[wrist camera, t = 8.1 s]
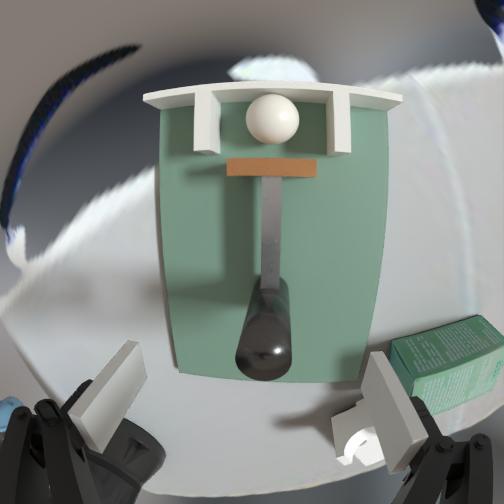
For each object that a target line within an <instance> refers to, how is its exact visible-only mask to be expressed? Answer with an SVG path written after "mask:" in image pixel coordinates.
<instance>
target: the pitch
mask: <svg viewBox="0 0 504 504" xmlns="http://www.w3.org/2000/svg"><path fill="white" fill-rule="evenodd" d="M267 94H277V95H281V96H283V97H285V98H287V99H289V100H290V101H291V102H292V103H293V104H294V106H295V107H296V109H297V111H298V114H299V125H298V128H297V131H296V132H295V134H294V135H293V136H292V137H291V138H290V139H289V140H287V141H286V142H283V143H280V144H266V143H263V142H260V141H259V140H257V139H256V138H254V137H253V136H252V134H251V133H250V132H249V130H248V128H247V125H246V113H247V110H248V108H249V106H250V105H251V103H252V102H253V101H254V100H256V99H257V98H259V97H261V96H263V95H267ZM143 101H144V102H146V103H149V104H150V105H152V106H154V107H156V108H158V109H160V110H161V112H160V143H159V144H160V145H159V148H160V149H159V182H160V213H161V232H162V246H163V259H164V270H165V280H166V289H167V298H168V306H169V313H170V320H171V327H172V334H173V340H174V347H175V353H176V358H177V364H178V369H179V373H185V374H192V375H199V376H207V377H215V378H225V379H235V380H247V381H258V380H254V379H251V378H249V377H247V376H245V375H244V374H243V373H242V372H241V371H240V370H239V369H238V367H237V365H236V362H235V354H236V350H237V347H238V343H239V339H240V336H241V332H242V328H243V324H244V321H245V317H246V313H247V309H248V305H249V302H250V298H251V294H252V290H253V286H254V284H255V282H256V281H257V280H258V279H259V278H261V215H262V176H227V158H294V159H317V173H316V177H313V178H304V177H282V207H281V249H280V277H281V278H282V279H284V280H285V282H286V283H287V285H288V288H289V300H290V320H291V343H292V365H291V367H290V369H289V371H288V372H287V373H286V374H285V375H283V376H282V377H280V378H278V379H275V380H272V381H263V382H290V383H322V382H349V381H357V378H358V375H359V371H360V368H361V364H362V360H363V356H364V352H365V348H366V344H367V340H368V336H369V331H370V327H371V322H372V317H373V312H374V307H375V302H376V296H377V290H378V284H379V278H380V271H381V264H382V256H383V248H384V239H385V228H386V216H387V200H388V172H389V147H388V119H387V111H389V110H390V109H392V108H394V107H395V106H397V105H399V104H400V103H402V102H403V99H402V95H400V94H395V93H390V92H385V91H380V90H374V89H368V88H361V87H354V86H346V85H337V84H327V83H315V82H297V81H246V82H228V83H215V84H205V85H196V86H188V87H181V88H175V89H168V90H163V91H157V92H152V93H147V94H144V95H143Z"/></svg>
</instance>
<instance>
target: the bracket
mask: <svg viewBox="0 0 504 504" xmlns="http://www.w3.org/2000/svg"><path fill="white" fill-rule="evenodd" d="M331 422H332V429H333V436H334V444H335V452H336V458H337V459H338V460H339V461H340V462H341V463H342V464H343V465H348V464H350V463H352V457H353V454H354V455H355V456H356V457H357V458H358V459H359V460H360V461H361V462H362V463H363V464H364V465H365V466H368V465H371V464H373V463H376V462H378V461H380V460H382V459H385V458H384V455H383V452H382V449H381V446H380V443H379V440H378V437H377V434H376V431H375V428H374V425H373V422H372V419H371V416H370V413H369V410H368V408H367V405H366V402H365V399H364V398H363V399H361V400H359V401H357V402H356V406H355V407H353V408H351V409H349V410H347V411H345V412H343V413H340V414H338V415H336V416H334V417H331Z"/></svg>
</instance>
